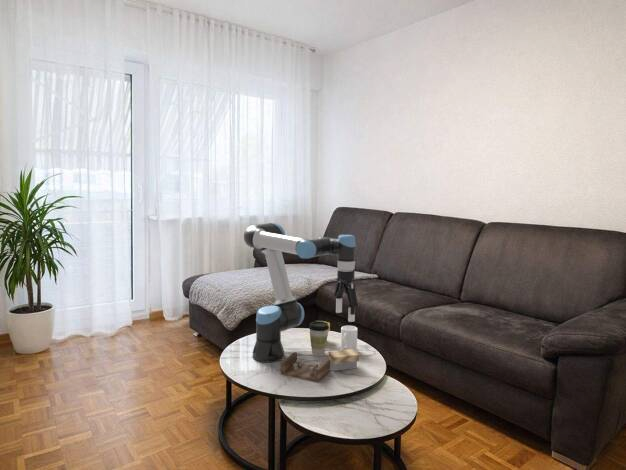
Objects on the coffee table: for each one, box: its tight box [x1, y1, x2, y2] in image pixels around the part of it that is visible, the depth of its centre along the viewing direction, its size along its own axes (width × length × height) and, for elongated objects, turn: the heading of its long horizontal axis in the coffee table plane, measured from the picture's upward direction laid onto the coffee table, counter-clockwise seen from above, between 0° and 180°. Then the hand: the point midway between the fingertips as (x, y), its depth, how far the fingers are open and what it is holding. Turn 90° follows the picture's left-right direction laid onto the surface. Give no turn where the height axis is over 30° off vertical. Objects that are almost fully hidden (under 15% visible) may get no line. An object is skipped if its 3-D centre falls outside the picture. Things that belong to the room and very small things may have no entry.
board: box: [327, 349, 360, 364], centre depth 191 cm, size 12×7×3 cm, turn 110°
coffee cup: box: [308, 320, 329, 357], centre depth 207 cm, size 10×10×15 cm
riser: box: [330, 360, 358, 372], centre depth 191 cm, size 12×3×4 cm, turn 110°
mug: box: [339, 325, 358, 353], centre depth 209 cm, size 12×8×12 cm
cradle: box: [280, 351, 331, 383], centre depth 186 cm, size 18×12×6 cm, turn 65°
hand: (344, 316), depth 189 cm, fingers open, 13 cm apart
